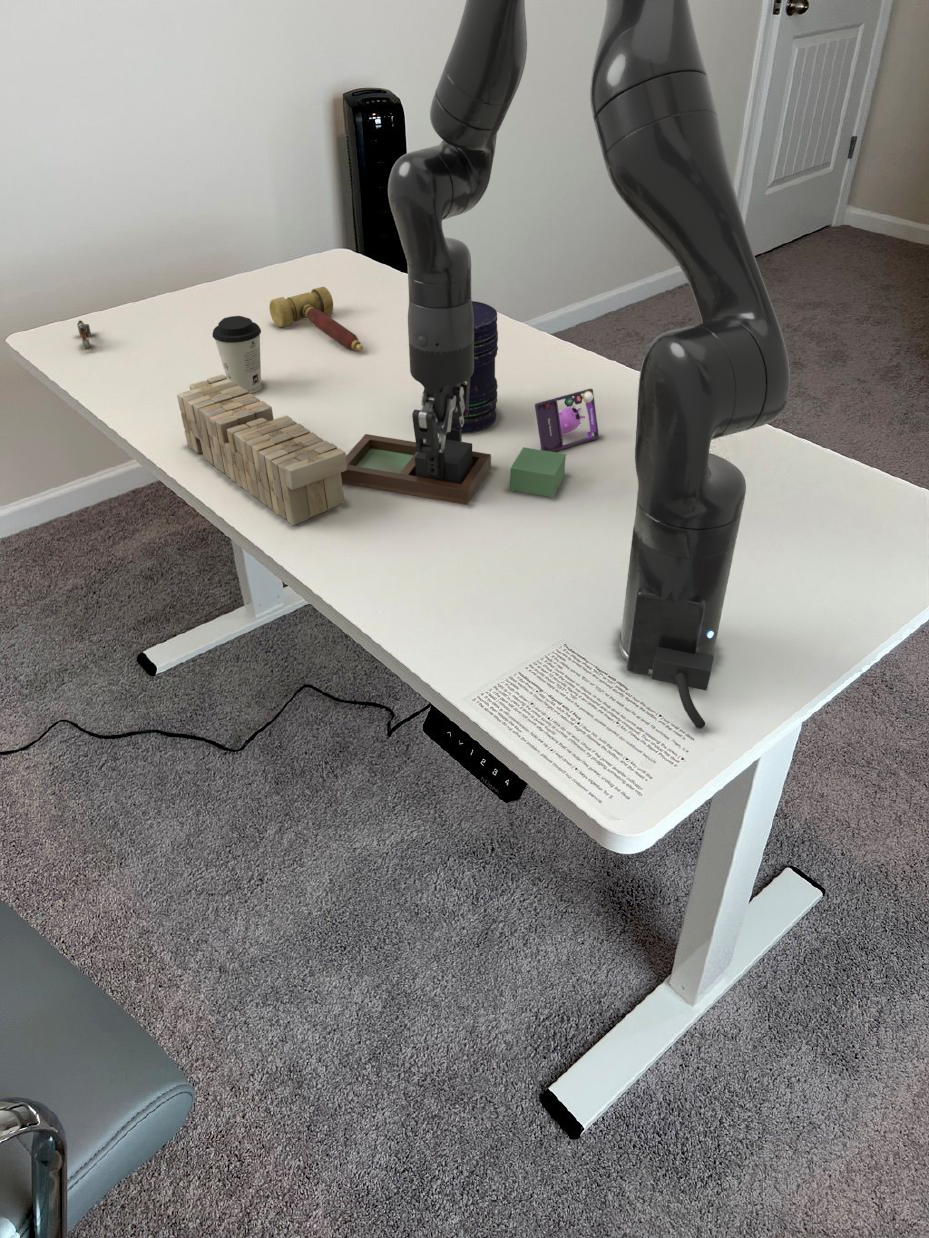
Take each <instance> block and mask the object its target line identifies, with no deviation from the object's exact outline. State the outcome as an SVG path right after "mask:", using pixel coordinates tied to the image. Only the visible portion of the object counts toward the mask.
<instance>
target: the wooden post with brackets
mask: <svg viewBox="0 0 929 1238" xmlns="http://www.w3.org/2000/svg"><path fill="white" fill-rule="evenodd" d="M76 327H77V330H78V334H79V337H81V339H82V340H81V343H82V346H83V348H84V350H87V351H88V350H90V346H91V344H90V340H89V339H87V336H92V332H91V328H90V325H89V323H84V322H83V320H78V321H77V326H76Z"/></svg>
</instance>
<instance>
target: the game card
mask: <svg viewBox="0 0 929 1238" xmlns="http://www.w3.org/2000/svg"><path fill="white" fill-rule="evenodd" d="M562 400H564V402H563V403H564V404H565V406H566V407H565V408H563V409H562V410H560V411H559V407H558V405H559V404H558V401H562ZM582 402H584V403H585V407H586V411H587V415H588V423H589V430H590V431H588V432H587V435H586V436H587V437H585V438H583V439H579V440H575V441H572V442H569V443H566V444H564V441H563V440H564V439H563V435H567V434H570V433H572V432H573V431H575V430H576V429H577V428H578V427H579V426H581V425H584V424H583V422H581V419H585V418H586V416H585V415H580V413H579V411H581V410H582V408H581V407H578V408H576V407H575V406H576V405H581V404H582ZM574 404H575V405H574ZM534 410H535V411H534V412H535V415H536V424H537V430H538V436H539V437H538V438H539V443H540V444H539V445H540V450H543V451H550V452H557V451H560V450H564V449H567V448H571V447H575V446H577V445H581V444H585V443H587V442H590V441H594V440H597V439H599V437H600V435H599V426H598V418H597V411H596V403H595V395H594V389H593V388H586V389H584V390H580V391H576V392H573V393H568V394H565V395H562V396H557V397H553V398H550V399H547V400H543V401H539V402H536V403H535V404H534ZM593 434H594V435H593Z"/></svg>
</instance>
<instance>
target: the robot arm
mask: <svg viewBox="0 0 929 1238" xmlns="http://www.w3.org/2000/svg"><path fill="white" fill-rule="evenodd" d="M604 16H605V17H604V20H603V25H602V29H601V33H600V36H599V41H598V44H597V49H596V51H595V56H594V61H593V62H594V63H593V66H592V71H591V78H590V88H589V101H590V108H591V114H592V119H593V123H594V127H595V130H596V134H597V139H598V142H599V146H600V150H601V154H602V159H603V161H604V164H605V170H606V172H607V175H608V178H609V180H610V182H611V185H612V186H613V188H614V190H615V191H616V193H617V195H618V197H620V199H621V201H622V202H623V203H624V204H625V205H626V207H627V208H628V209H629V211H630V212H631V213H632V214H633V215H634V216H635V217H636V218H637V220H638V221H639V222H640V223H641V224H642V225H643V226H644V227H645V228H646V229H647V231H648V232H650V233H651V234H652V235H653V237H654V238H655V239H656V240H657V241H658V242H659V243H660V244H661V245H662V246H663V247H664V249H665V250H666V251H667V253H669V254H670V256H671V257H672V258H673V259H674V261H675V262H676V264H677V265H678V266H679V268H680V270H681V272H682V273H683V275H684V277H685V278H686V282H687V284H688V286H689V288H690V290H691V292H692V295H693V298H694V301H695V304H696V307H697V311H698V313H699V317H700V321H701V323H697V324H694V325H689V326H683V327H679V328H676V329H671V330H667V331H665V332H663V333H660V334H659V335H658V336H656V337H655V338H654V339H653V340H652V341H651V343H650V344H649V346H648V347H647V350H646V351H645V354H644V356H643V360H642V364H641V367H640V372H639V379H638V391H637V410H636V412H637V413H636V431H635V445H634V465H635V471H636V477H637V495H636V497H637V498H636V503H635V505H636V506H635V514H634V521H633V529H632V536H631V537H632V538H631V545H630V553H629V561H628V570H627V579H626V587H625V594H624V595H625V596H624V602H623V603H624V604H623V612H622V621H621V630H620V632H619V638H618V648H619V652H620V654H621V656H622V658H623V659H624V661H626V670H627V671H628V672H631V673H637V674H641V675H646V676H651V680H654V681H659V682H662V683H668V684H671V685H672V684H673V685H677V690H678V695H679V699H680V701H681V704H682V707H683V709H684V711H685V713H686V715H687V717H688V718H689V720H690V721H691V723H692V724H693V725H694V726H695V728H697V729H703V728H705V726H706V721H705V720H704V719H703V717H702V715H701V714H700V713H699V711H698V709H697V708H696V705H695V704H694V701H693V699H692V696H691V692H690V688H691V689H695V690H701V691H705V692H707V691H708V687H709V684H710V678H711V674H712V669H713V664H714V659H715V653H716V643H717V638H718V635H719V634H718V633H719V629H720V623H721V618H722V612H723V607H724V603H725V597H726V594H727V588H728V583H729V579H730V574H731V568H732V563H733V558H734V555H735V554H734V553H735V549H736V543H737V539H738V538H737V537H738V534H739V529H740V524H741V519H742V515H743V510H744V503H745V499H746V493H747V481H746V479H745V476H744V474H743V472H742V471H741V470H740V469H739V467H738V466H736V465H735V464H733V462H730V461H728V460H727V459H725V458H723V457H722V456H719V455H716V454H714V453H710V447H711V443H712V440H715V439H719V438H722V437H727V436H730V435H734V434H737V433H741V432H744V431H745V432H746V431H749V430H753V429H757V428H759V427H762V426H765V425H767V424H768V425H769V424H770V423H772V422H774V421H775V420H776V419H777V418H778V417H779V416H780V415H781V414H782V413H783V411H784V409H785V407H786V405H787V403H788V400H789V395H790V391H791V368H790V361H789V355H788V349H787V346H786V341H785V339H784V336H783V332H782V329H781V326H780V323H779V320H778V317H777V315H776V311H775V308H774V306H773V304H772V301H771V298H770V295H769V292H768V289H767V287H766V284H765V282H764V279H763V276H762V273H761V271H760V268H759V265H758V261H757V259H756V257H755V253H754V250H753V248H752V244H751V242H750V239H749V236H748V232H747V227H746V225H745V222H744V219H743V215H742V211H741V207H740V203H739V200H738V196H737V194H736V190H735V186H734V185H735V184H734V182H733V179H732V178H733V177H732V175H731V171H730V167H729V163H728V159H727V155H726V152H725V147H724V143H723V137H722V133H721V132H722V131H721V127H720V122H719V118H718V113H717V109H716V104H715V101H714V97H713V93H712V89H711V85H710V80H709V77H708V73H707V70H706V66H705V63H704V59H703V56H702V53H701V49H700V46H699V42H698V38H697V33H696V30H695V25H694V21H693V17H692V11H691V7H690V3H689V0H606V8H605V15H604ZM527 53H528V31H527V19H526V1H525V0H465V3H464V8H463V12H462V15H461V19H460V23H459V25H458V29H457V31H456V35H455V38H454V40H453V44H452V46H451V48H450V52H449V54H448V57H447V58H446V62H445V65H444V67H443V69H442V73H441V74H440V78H439V81H438V83H437V85H436V88H435V91H434V94H433V97H432V100H431V103H430V109H429V120H430V124H431V127H432V128H433V130H434V132H435V133H436V134H437V135H438V137H439V138H440V139H441V142H440V143H439V144H437V145H433V146H430V147H425V148H421V149H418V150H414V151H410V152H406V153H405V154H403V155H401V156H400V157H399V158H398V159H397V160H396V161H395V163H394V164H393V166H392V168H391V171H390V174H389V178H388V184H387V196H388V203H389V207H390V211H391V213H392V217H393V220H394V223H395V226H396V229H397V233H398V237H399V240H400V243H401V247H402V249H403V253H404V256H405V259H406V263H407V283H408V310H407V331H408V332H407V334H408V335H407V336H408V353H409V354H408V356H409V372H410V373H409V374H410V376H411V377H412V379H414V380H415V381H416V382H419V384H420V385H422V387H423V392H422V393H421V400H420V405H421V407H422V408H421V409H413V411H412V415H411V417H412V418H411V419H412V425H413V432H414V439H415V440H414V442H416V448H417V452H418V453H424V454H426V474H427V476H428V477H430V478H436V479H442V478H443V477H444V475H445V451H444V450H445V440H446V439H448V440H454V441H460V442H463V441H462V439H463V438H462V434H461V428H460V427H463V424H464V417H463V416H467V415H468V413H469V394H470V377H471V376H472V375H473V372H474V315H473V307H472V301H473V300H472V257H471V252H470V249H469V247H468V246H467V245H466V243H464V242H463V241H462V240H460V239H457V238H453V237H446V236H445V234H444V230H443V221H444V220H447V219H451V218H453V217H456V216H459V215H463V214H466V213H468V212H469V211H471V210H473V208H475V207H476V206H477V204H478V203H479V202H480V201H481V200H482V198H483V197H484V195H485V193H486V191H487V190H488V186H489V183H490V179H491V175H492V169H493V165H494V158H495V153H496V146H497V138H498V132H499V131H500V129H501V127H502V125H503V122H504V120H505V118H506V115H507V113H508V111H509V109H510V107H511V104H512V103H513V100H514V99H515V96H516V93H517V91H518V88H519V86H520V84H521V81H522V78H523V74H524V70H525V67H526V60H527ZM437 422H443V424H444V425H443V426H437ZM438 438H439V441H438Z"/></svg>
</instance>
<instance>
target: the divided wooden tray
mask: <svg viewBox="0 0 929 1238" xmlns="http://www.w3.org/2000/svg"><path fill="white" fill-rule="evenodd" d="M417 454H418V452H417V448H416V441H411V440H405V439H399V438H393V437H386V436H379V435H373V434H369V433H365V434H364V435H363V436H362V437H361V438H360V439H359V441H358V442H357V443H356V444H355V445H354V446H353V447H352V448H351V449H350V451H348V453H346V463H347V470H346V471H344V472H341V478H342V484H346V485H347V484H348V485H352V486H359V487H364V488H368V489H369V488H370V489H376V490H381V491H386V492H393V493H398V494H404V495H408V496H409V495H410V496H415V497H420V498H427V499H430V500H431V499H432V500H438V501H443V502H449V503H455V504H461V505H464V506H468V505H469V504H470V502H471V500H472V498H473V497H474V496H475V494H476V493H477V491H478V489H479V487H480V486H481V485H482V483H483V482H484V481H485V479H486V477H487V475H488V474H489V473H490V470H492V454H491V453H486V452H480V451H474V450H472V467H471V468H470V470H469V471H468V473H467V474H466V476H465V477H464V479H463V480H462V482H461V483H460V484H458V483H452V482H446V481H440V480H434V479H428V478H423V477H417V476H416V470H415V457H416V455H417Z"/></svg>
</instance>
